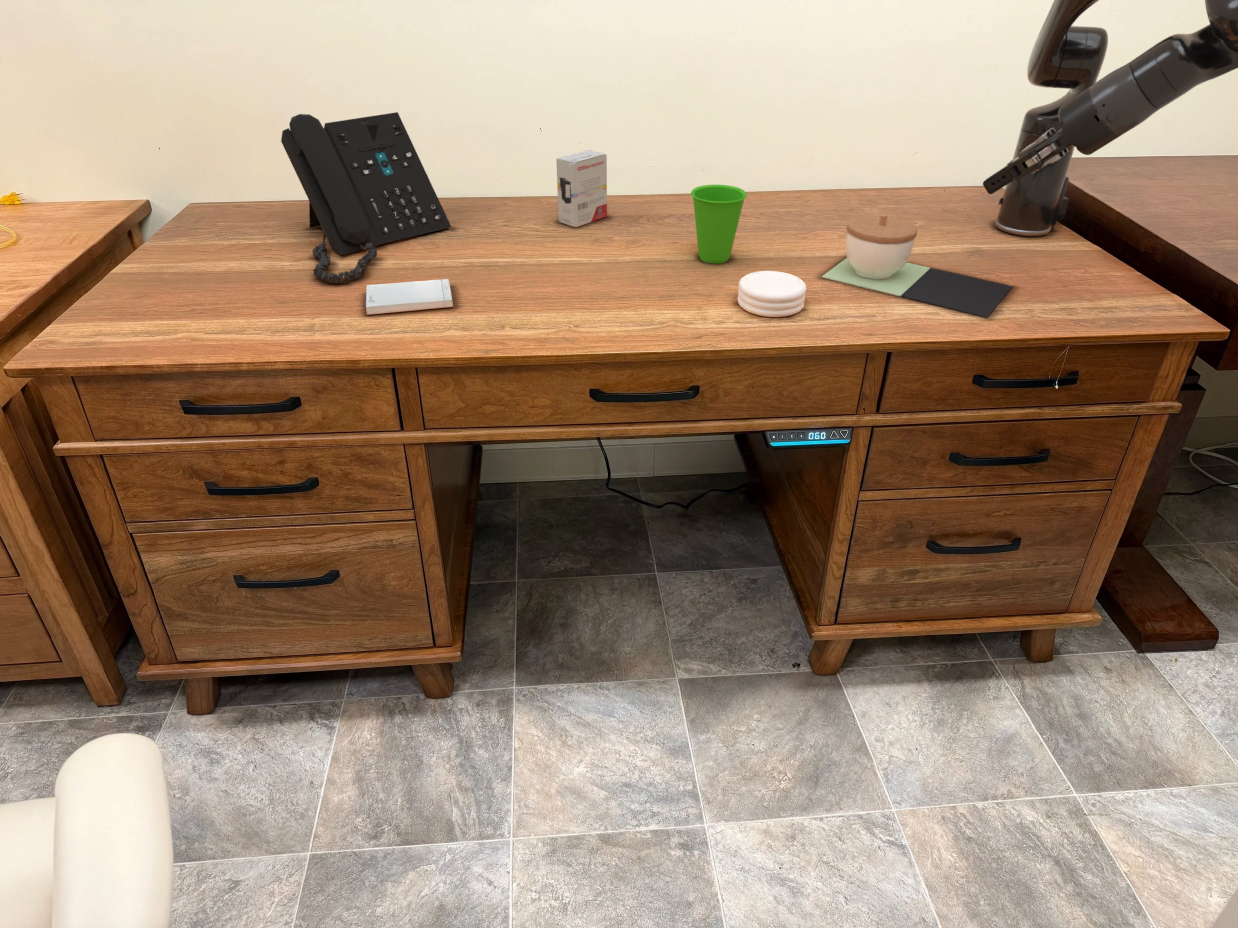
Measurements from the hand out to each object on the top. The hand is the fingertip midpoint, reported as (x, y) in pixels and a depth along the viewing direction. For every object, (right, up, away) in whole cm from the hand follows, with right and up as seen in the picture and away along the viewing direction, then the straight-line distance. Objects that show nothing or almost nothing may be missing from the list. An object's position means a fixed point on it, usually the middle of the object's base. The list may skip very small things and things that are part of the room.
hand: (987, 188), depth 120 cm
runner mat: (-6, -11, +12) cm, 18 cm away
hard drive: (-85, -15, +6) cm, 86 cm away
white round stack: (-30, -16, +5) cm, 35 cm away
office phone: (-97, -1, +26) cm, 100 cm away
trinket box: (-12, -9, +15) cm, 21 cm away
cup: (-37, -5, +21) cm, 43 cm away
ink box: (-60, +6, +37) cm, 71 cm away
